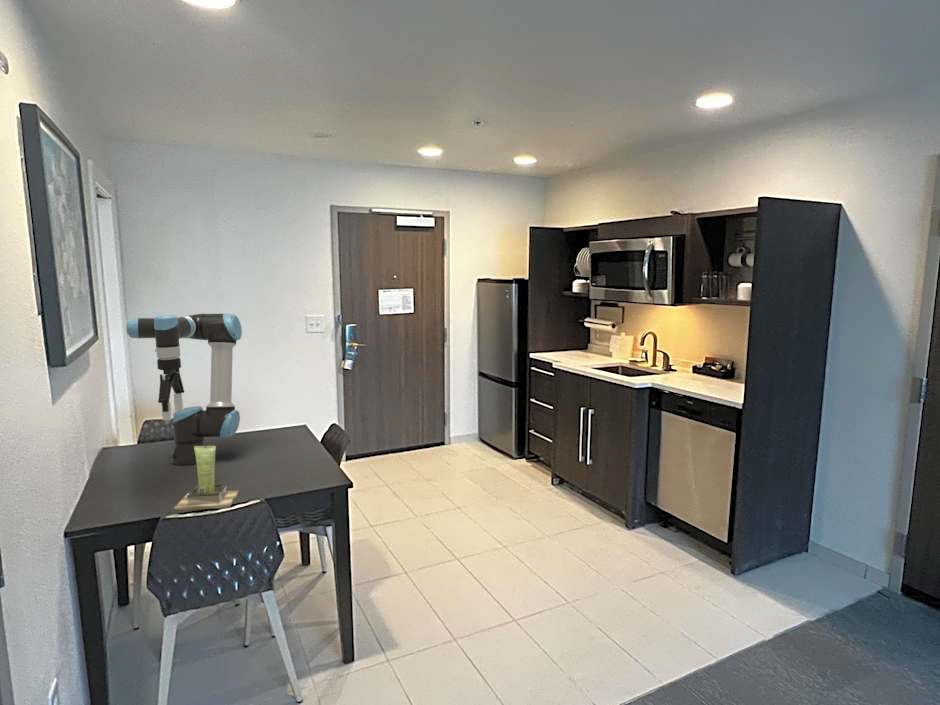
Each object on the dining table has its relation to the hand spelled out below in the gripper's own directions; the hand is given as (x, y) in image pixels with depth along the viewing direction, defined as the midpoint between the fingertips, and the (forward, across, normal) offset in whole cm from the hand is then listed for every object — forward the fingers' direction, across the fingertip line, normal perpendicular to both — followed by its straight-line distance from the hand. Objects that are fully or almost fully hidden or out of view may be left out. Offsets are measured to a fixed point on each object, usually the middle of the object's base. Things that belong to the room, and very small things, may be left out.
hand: (173, 415), depth 212 cm
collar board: (+29, +11, +13) cm, 34 cm away
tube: (+29, +11, +13) cm, 33 cm away
